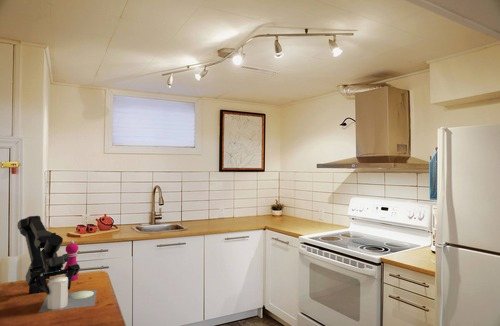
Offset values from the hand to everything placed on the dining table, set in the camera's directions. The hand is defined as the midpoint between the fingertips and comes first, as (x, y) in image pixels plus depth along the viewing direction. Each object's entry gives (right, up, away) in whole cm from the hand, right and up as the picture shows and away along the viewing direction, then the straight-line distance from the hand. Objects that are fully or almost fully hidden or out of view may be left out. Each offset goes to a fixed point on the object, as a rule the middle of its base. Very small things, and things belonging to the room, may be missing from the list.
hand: (59, 291), depth 138 cm
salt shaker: (-1, -6, +1) cm, 6 cm away
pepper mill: (-15, -8, +39) cm, 42 cm away
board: (0, -7, +7) cm, 10 cm away
